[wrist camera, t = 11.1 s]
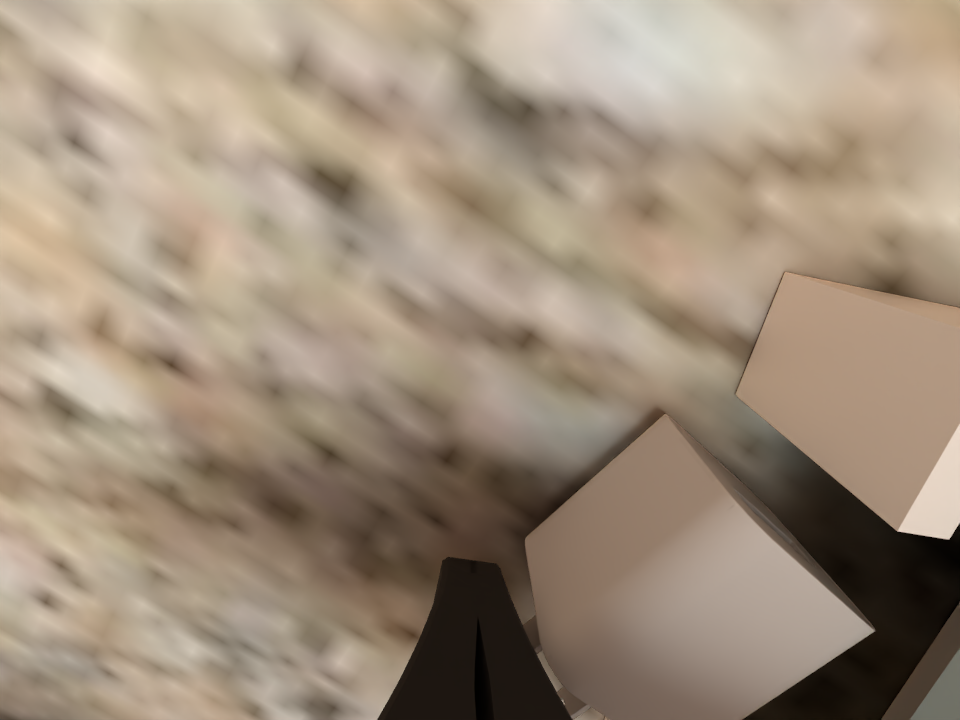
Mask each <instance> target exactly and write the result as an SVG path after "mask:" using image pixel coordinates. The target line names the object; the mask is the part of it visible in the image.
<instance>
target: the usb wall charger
mask: <svg viewBox="0 0 960 720" xmlns="http://www.w3.org/2000/svg"><path fill="white" fill-rule="evenodd" d="M525 549H526V555H527V561H528V568H529V574H530V580H531V587H532V593H533V599H534V606H535V612H536V615H535V616H534V617H533V618H532V619H530V620H529V621H528V622H527V623H525V624H524V625H523V627H524V629H525V632H526V634H527V636H528V638H529V640H530V642H531V644H532V646H533V648H534V650H535V652H536V654H538V653H539V652H540V651H541V650H543V653H544V655H545V658H546V660H547V662H548V664H549V666H550V667H551V669H552V671H553V672H554V674H555V675H556V677H557V678H558V680H559V681H560V682H561V683H562V685H563V687H562V688H561V689H560V690H559V691H558V692H557V694H558V696H559V697H560V699H561V700H562V699H564V702H565V708H566V709H567V711H568V713H569V714H570V716H571V718H572V719H575V718H577V717H578V716H580V715H581V714H583V713H584V712H585V711H587V710H588V709H589V708H591V707H592V708H593V709H595V710H597V711H598V712H600V713H601V714H603V715H604V716H606V717H607V718H609V719H610V720H742V719H744V718H745V717H747V716H748V715H750V714H751V713H753V712H754V711H756V710H757V709H759V708H760V707H762V706H763V705H765V704H766V703H768V702H769V701H771V700H772V699H774V698H775V697H777V696H778V695H780V694H781V693H783V692H784V691H786V690H787V689H789V688H790V687H792V686H793V685H795V684H796V683H798V682H799V681H801V680H802V679H804V678H805V677H807V676H808V675H810V674H811V673H813V672H814V671H816V670H817V669H819V668H820V667H822V666H823V665H825V664H826V663H828V662H829V661H831V660H832V659H834V658H835V657H837V656H838V655H840V654H841V653H843V652H844V651H846V650H847V649H849V648H850V647H852V646H853V645H855V644H856V643H858V642H859V641H861V640H862V639H864V638H865V637H867V636H868V635H870V634H871V633H873V632H874V631H876V630H875V628H874V627H873V625H872V624H871V623H870V622H869V620H868V619H867V618H866V617H865V616H864V615H863V613H862V612H861V611H860V610H859V609H858V608H857V607H856V606H855V604H854V603H853V602H852V601H851V600H850V599H849V598H848V597H847V595H846V594H845V593H844V592H843V591H842V590H841V589H840V588H839V586H838V585H837V584H836V583H835V582H834V581H833V580H832V579H831V577H830V576H829V575H828V574H827V573H826V572H825V571H824V570H823V568H822V567H821V566H820V565H819V564H818V563H817V562H816V561H815V559H814V558H813V557H812V556H811V555H810V554H809V553H808V552H807V550H806V549H805V548H804V547H803V546H802V545H801V544H800V543H799V542H798V540H797V539H796V538H795V537H794V536H793V535H792V534H791V533H790V531H789V530H788V529H787V528H786V527H785V526H784V525H783V524H782V522H781V521H780V520H779V519H778V518H777V517H776V516H775V515H774V514H773V513H772V512H771V511H770V509H769V508H768V507H767V506H766V505H765V504H764V503H763V502H762V501H761V500H760V499H759V498H758V497H757V496H756V495H755V494H754V493H753V492H752V491H751V490H750V489H748V488H747V487H746V486H745V485H744V484H743V483H742V482H741V481H740V480H739V479H738V478H737V477H735V476H734V475H733V474H732V473H731V472H730V471H729V470H728V469H727V468H726V467H725V466H724V465H722V464H721V463H720V462H719V461H718V460H717V459H716V458H715V457H714V456H713V455H712V454H710V453H709V452H708V451H707V450H706V449H705V448H704V447H703V446H702V445H701V444H700V443H698V442H697V441H696V440H695V439H694V438H693V437H692V436H691V435H690V434H689V433H688V432H686V431H685V430H684V429H683V428H682V427H681V426H680V425H679V424H678V423H677V422H676V421H674V420H673V419H672V418H671V417H670V416H668V415H667V414H664V415H663V416H662V417H661V418H660V419H658V420H657V421H656V422H655V423H654V424H653V425H652V426H651V427H649V428H648V429H647V430H646V431H645V432H644V433H643V434H642V435H640V436H639V437H638V438H637V439H636V440H635V441H634V442H633V443H631V444H630V445H629V446H628V447H627V448H626V449H625V450H624V451H622V452H621V453H620V454H619V455H618V456H617V457H616V458H615V459H613V460H612V461H611V462H610V463H609V464H608V465H607V466H606V467H604V468H603V469H602V470H601V471H600V472H599V473H598V474H597V475H595V476H594V477H593V478H592V479H591V480H590V481H589V482H588V483H586V484H585V485H584V486H583V487H582V488H581V489H580V490H579V491H577V492H576V493H575V494H574V495H573V496H572V497H571V498H570V499H568V500H567V501H566V502H565V503H564V504H563V505H562V506H561V507H559V508H558V509H557V510H556V511H555V512H554V513H553V514H552V515H550V516H549V517H548V518H547V519H546V520H545V521H544V522H543V523H541V524H540V525H539V526H538V527H537V528H536V529H535V530H534V531H532V532H531V533H530V534H529V535H528V536H527V537H526V538H525Z"/></svg>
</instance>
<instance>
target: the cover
mask: <svg viewBox="0 0 960 720" xmlns="http://www.w3.org/2000/svg"><path fill="white" fill-rule="evenodd" d="M910 720H960V648H959V650H958V651H957V653H956V654H955V656H954V657H953V658H952V660H951V661H950V663H949V664H948V666H947V667H946V668H945V670H944V671H943V673H942V674H941V676H940V677H939V679H938V680H937V681H936V683H935V684H934V686H933V687H932V689H931V690H930V691H929V693H928V694H927V696H926V697H925V699H924V700H923V702H922V703H921V704H920V706H919V707H918V709H917V710H916V712H915V713H914V714H913V716H912V717H911V719H910Z"/></svg>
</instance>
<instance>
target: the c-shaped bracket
mask: <svg viewBox="0 0 960 720" xmlns="http://www.w3.org/2000/svg"><path fill="white" fill-rule="evenodd" d="M735 395H736V396H737V397H738V398H739V399H741V400H742V401H743V402H744V403H745V404H747V405H748V406H749V407H750V408H751V409H753V410H754V411H755V412H756V413H757V414H758V415H760V416H761V417H762V418H763V419H764V420H766V421H767V422H768V423H769V424H770V425H772V426H773V427H774V428H775V429H776V430H777V431H779V432H780V433H781V434H782V435H783V436H785V437H786V438H787V439H788V440H789V441H791V442H792V443H793V444H794V445H795V446H796V447H798V448H799V449H800V450H801V451H802V452H804V453H805V454H806V455H807V456H808V457H810V458H811V459H812V460H813V461H814V462H815V463H817V464H818V465H819V466H820V467H821V468H823V469H824V470H825V471H826V472H827V473H829V474H830V475H831V476H832V477H833V478H834V479H836V480H837V481H838V482H839V483H840V484H842V485H843V486H844V487H845V488H846V489H848V490H849V491H850V492H851V493H852V494H854V495H855V496H856V497H857V498H858V499H859V500H861V501H862V502H863V503H864V504H865V505H867V506H868V507H869V508H870V509H871V510H873V511H874V512H875V513H876V514H877V515H878V516H880V517H881V518H882V519H883V520H884V521H886V522H887V523H888V524H889V525H890V526H892V527H893V528H894V529H895V530H896V531H898V532H905V533H911V534H917V535H923V536H929V537H936V538H942V539H948V540H949V539H950V537H951V536H952V534H953V533H954V531H955V529H956V528H957V526H958V525H959V523H960V308H958V307H954V306H949V305H944V304H939V303H934V302H929V301H924V300H919V299H915V298H910V297H905V296H900V295H895V294H890V293H885V292H881V291H876V290H871V289H866V288H861V287H856V286H851V285H846V284H842V283H837V282H832V281H827V280H822V279H817V278H812V277H808V276H803V275H798V274H793V273H788V272H785V273H784V275H783V278H782V280H781V283H780V285H779V288H778V290H777V293H776V295H775V298H774V300H773V303H772V305H771V308H770V310H769V312H768V315H767V317H766V320H765V322H764V325H763V327H762V330H761V332H760V335H759V337H758V340H757V342H756V345H755V347H754V350H753V352H752V355H751V357H750V360H749V362H748V364H747V367H746V369H745V372H744V374H743V377H742V379H741V382H740V384H739V387H738V389H737V392H736V394H735ZM959 648H960V603H959V604H958V606H957V607H956V609H955V610H954V612H953V613H952V615H951V616H950V617H949V619H948V620H947V622H946V623H945V625H944V626H943V628H942V629H941V631H940V632H939V634H938V635H937V637H936V638H935V640H934V641H933V643H932V644H931V646H930V647H929V649H928V650H927V652H926V653H925V655H924V656H923V658H922V659H921V661H920V662H919V664H918V665H917V667H916V668H915V670H914V671H913V673H912V674H911V676H910V677H909V679H908V680H907V682H906V683H905V685H904V686H903V688H902V689H901V691H900V692H899V694H898V695H897V697H896V698H895V700H894V701H893V703H892V704H891V706H890V707H889V709H888V710H887V712H886V713H885V715H884V716H883V718H882V719H881V720H910V719H911V717H912V716H913V714H914V713H915V712H916V710H917V709H918V707H919V706H920V704H921V703H922V702H923V700H924V699H925V697H926V696H927V694H928V693H929V691H930V690H931V689H932V687H933V686H934V684H935V683H936V681H937V680H938V679H939V677H940V676H941V674H942V673H943V671H944V670H945V668H946V667H947V666H948V664H949V663H950V661H951V660H952V658H953V657H954V656H955V654H956V653H957V651H958V650H959ZM604 720H610V719H609V718H607V717H606V716H605V719H604Z"/></svg>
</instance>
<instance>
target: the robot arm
mask: <svg viewBox="0 0 960 720" xmlns="http://www.w3.org/2000/svg"><path fill="white" fill-rule="evenodd" d="M377 720H573V719H572V718H571V716H570V714H569V713H568V711H567V709H566V708H565V706H564V704H563V702H562V701H561V699H560V697H559V696H558V694H557V692H556V690H555V688H554V687H553V685H552V683H551V681H550V679H549V677H548V676H547V674H546V672H545V670H544V668H543V666H542V664H541V662H540V660H539V658H538V656H537V654H536V652H535V650H534V648H533V646H532V644H531V642H530V640H529V638H528V636H527V634H526V632H525V629H524V627H523V625H522V623H521V621H520V618H519V616H518V614H517V611H516V609H515V607H514V604H513V602H512V599H511V597H510V594H509V592H508V589H507V587H506V584H505V581H504V579H503V576H502V573H501V570H500V568H499V567H498V565H497V564H494V563H487V562H480V561H473V560H466V559H458V558H451V557H448V558H446V559H444V560H443V561H442V566H441V570H440V575H439V580H438V584H437V589H436V594H435V598H434V603H433V606H432V609H431V611H430V614H429V616H428V619H427V622H426V624H425V627H424V629H423V632H422V634H421V636H420V639H419V641H418V643H417V645H416V647H415V649H414V651H413V653H412V656H411V658H410V660H409V662H408V664H407V666H406V668H405V670H404V672H403V674H402V676H401V678H400V680H399V682H398V684H397V686H396V687H395V689H394V691H393V693H392V695H391V697H390V698H389V700H388V702H387V704H386V705H385V707H384V709H383V711H382V712H381V714H380V716H379V718H378V719H377Z"/></svg>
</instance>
